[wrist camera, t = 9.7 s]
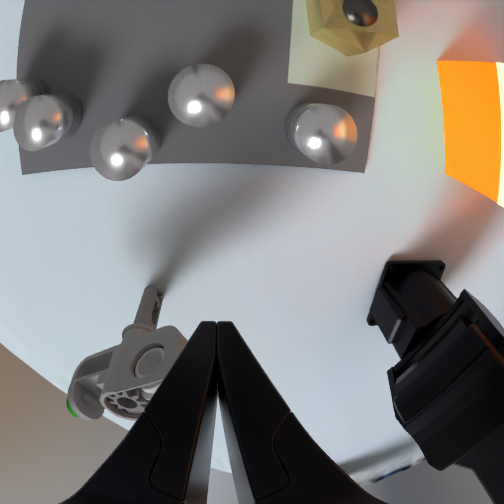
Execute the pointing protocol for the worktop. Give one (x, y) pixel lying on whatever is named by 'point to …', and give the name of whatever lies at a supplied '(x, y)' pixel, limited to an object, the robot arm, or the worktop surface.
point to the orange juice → (474, 124)
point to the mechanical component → (127, 367)
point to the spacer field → (146, 130)
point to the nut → (352, 24)
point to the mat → (180, 57)
